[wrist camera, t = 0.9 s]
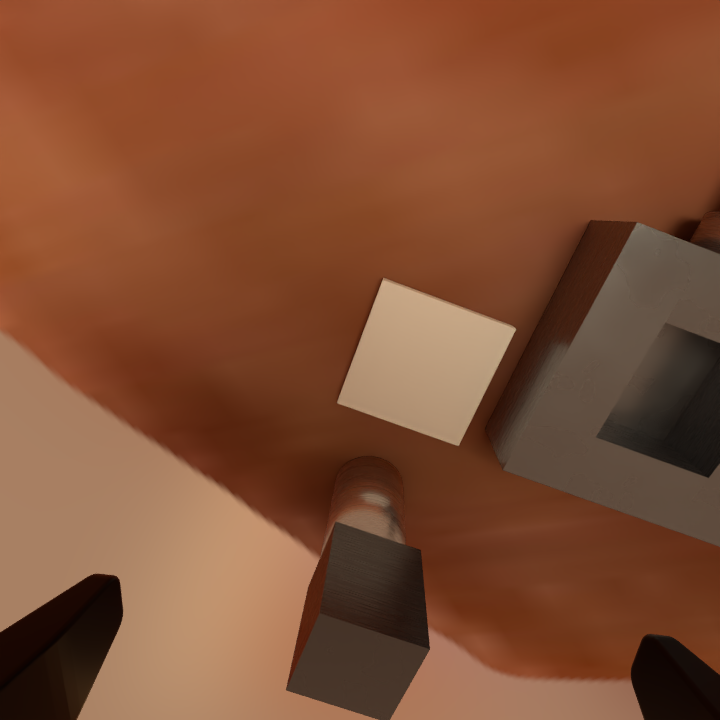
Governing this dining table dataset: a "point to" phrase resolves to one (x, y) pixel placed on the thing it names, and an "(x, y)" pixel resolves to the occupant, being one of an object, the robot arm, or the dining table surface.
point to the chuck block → (625, 379)
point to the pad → (424, 362)
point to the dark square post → (363, 599)
